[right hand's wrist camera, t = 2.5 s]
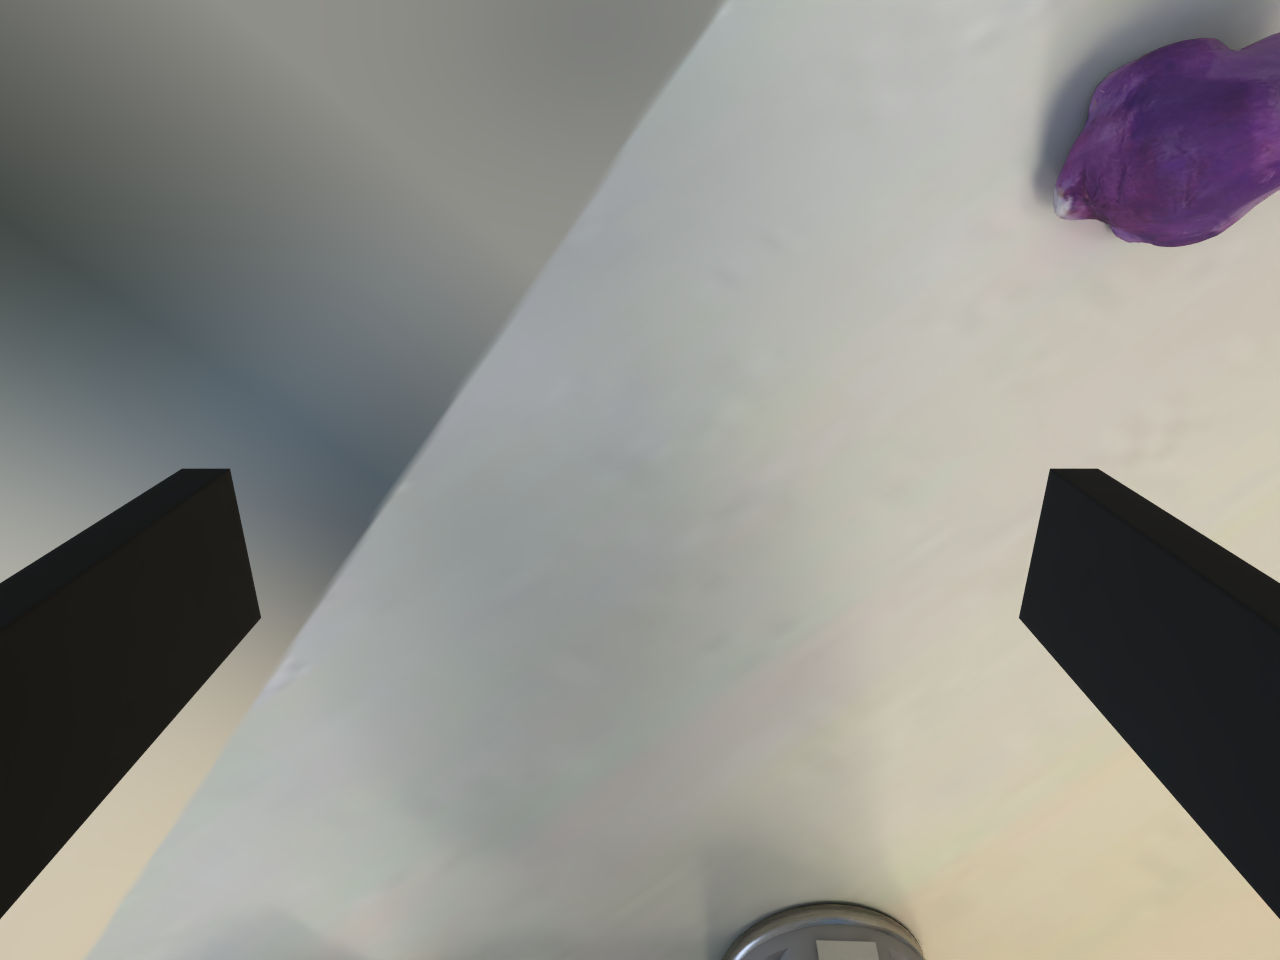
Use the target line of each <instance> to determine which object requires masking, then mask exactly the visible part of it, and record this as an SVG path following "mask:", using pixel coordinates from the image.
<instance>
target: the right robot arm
mask: <svg viewBox="0 0 1280 960" xmlns="http://www.w3.org/2000/svg"><path fill="white" fill-rule="evenodd" d="M260 618H261V615H260V611H259V606H258V601H257V596H256V591H255V587H254V582H253V577H252V572H251V568H250V563H249V558H248V553H247V548H246V543H245V539H244V534H243V529H242V524H241V519H240V515H239V510H238V505H237V500H236V496H235V491H234V486H233V481H232V477H231V472H230V469H181V470H179V471H178V472H176V473H175V474H173V475H171V476H170V477H168V478H167V479H165V480H164V481H162V482H160V483H159V484H157V485H155V486H154V487H152V488H151V489H149V490H148V491H146V492H144V493H143V494H141V495H140V496H138V497H136V498H135V499H133V500H132V501H130V502H128V503H127V504H125V505H124V506H122V507H121V508H119V509H117V510H116V511H114V512H113V513H111V514H109V515H108V516H106V517H105V518H103V519H101V520H100V521H98V522H97V523H95V524H94V525H92V526H90V527H89V528H87V529H86V530H84V531H82V532H81V533H79V534H78V535H76V536H75V537H73V538H71V539H70V540H68V541H67V542H65V543H63V544H62V545H60V546H59V547H57V548H55V549H54V550H52V551H51V552H49V553H48V554H46V555H44V556H43V557H41V558H40V559H38V560H36V561H35V562H33V563H32V564H30V565H28V566H27V567H25V568H24V569H22V570H21V571H19V572H17V573H16V574H14V575H13V576H11V577H9V578H8V579H6V580H5V581H3V582H1V583H0V919H1V917H2V916H3V915H4V914H5V913H6V912H7V911H8V909H9V908H10V907H11V906H12V905H13V904H14V902H15V901H16V900H17V899H18V898H19V897H20V896H21V894H22V893H23V892H24V891H25V890H26V889H27V887H28V886H29V885H30V884H31V883H32V882H33V881H34V879H35V878H36V877H37V876H38V875H39V874H40V872H41V871H42V870H43V869H44V868H45V867H46V865H47V864H48V863H49V862H50V861H51V860H52V859H53V857H54V856H55V855H56V854H57V853H58V852H59V851H60V849H61V848H62V847H63V846H64V845H65V844H66V842H67V841H68V840H69V839H70V838H71V837H72V835H73V834H74V833H75V832H76V831H77V830H78V829H79V827H80V826H81V825H82V824H83V823H84V822H85V821H86V819H87V818H88V817H89V816H90V815H91V814H92V812H93V811H94V810H95V809H96V808H97V807H98V805H99V804H100V803H101V802H102V801H103V800H104V799H105V797H106V796H107V795H108V794H109V793H110V792H111V790H112V789H113V788H114V787H115V786H116V785H117V784H118V782H119V781H120V780H121V779H122V778H123V777H124V775H125V774H126V773H127V772H128V771H129V770H130V769H131V767H132V766H133V765H134V764H135V763H136V762H137V760H138V759H139V758H140V757H141V756H142V755H143V754H144V752H145V751H146V750H147V749H148V748H149V747H150V745H151V744H152V743H153V742H154V741H155V740H156V739H157V737H158V736H159V735H160V734H161V733H162V732H163V730H164V729H165V728H166V727H167V726H168V725H169V724H170V722H171V721H172V720H173V719H174V718H175V717H176V715H177V714H178V713H179V712H180V711H181V710H182V708H183V707H184V706H185V705H186V704H187V703H188V702H189V700H190V699H191V698H192V697H193V696H194V695H195V693H196V692H197V691H198V690H199V689H200V688H201V687H202V685H203V684H204V683H205V682H206V681H207V680H208V678H209V677H210V676H211V675H212V674H213V673H214V672H215V670H216V669H217V668H218V667H219V666H220V665H221V663H222V662H223V661H224V660H225V659H226V658H227V657H228V655H229V654H230V653H231V652H232V651H233V650H234V648H235V647H236V646H237V645H238V644H239V643H240V642H241V640H242V639H243V638H244V637H245V636H246V635H247V633H248V632H249V631H250V630H251V629H252V628H253V627H254V625H255V624H256V623H257V622H258V621H259V620H260ZM1019 618H1020V620H1021V621H1022V622H1023V623H1024V624H1025V625H1026V627H1027V628H1028V629H1029V630H1030V631H1031V632H1032V633H1033V635H1034V636H1035V637H1036V638H1037V639H1038V640H1039V642H1040V643H1041V644H1042V645H1043V646H1044V647H1045V648H1046V650H1047V651H1048V652H1049V653H1050V654H1051V655H1052V657H1053V658H1054V659H1055V660H1056V661H1057V662H1058V663H1059V665H1060V666H1061V667H1062V668H1063V669H1064V670H1065V672H1066V673H1067V674H1068V675H1069V676H1070V677H1071V678H1072V680H1073V681H1074V682H1075V683H1076V684H1077V685H1078V687H1079V688H1080V689H1081V690H1082V691H1083V692H1084V693H1085V695H1086V696H1087V697H1088V698H1089V699H1090V700H1091V702H1092V703H1093V704H1094V705H1095V706H1096V707H1097V709H1098V710H1099V711H1100V712H1101V713H1102V714H1103V715H1104V717H1105V718H1106V719H1107V720H1108V721H1109V722H1110V724H1111V725H1112V726H1113V727H1114V728H1115V729H1116V730H1117V732H1118V733H1119V734H1120V735H1121V736H1122V737H1123V739H1124V740H1125V741H1126V742H1127V743H1128V744H1129V745H1130V747H1131V748H1132V749H1133V750H1134V751H1135V752H1136V754H1137V755H1138V756H1139V757H1140V758H1141V759H1142V760H1143V762H1144V763H1145V764H1146V765H1147V766H1148V767H1149V769H1150V770H1151V771H1152V772H1153V773H1154V774H1155V775H1156V777H1157V778H1158V779H1159V780H1160V781H1161V782H1162V784H1163V785H1164V786H1165V787H1166V788H1167V789H1168V790H1169V792H1170V793H1171V794H1172V795H1173V796H1174V797H1175V799H1176V800H1177V801H1178V802H1179V803H1180V804H1181V806H1182V807H1183V808H1184V809H1185V810H1186V811H1187V812H1188V814H1189V815H1190V816H1191V817H1192V818H1193V819H1194V821H1195V822H1196V823H1197V824H1198V825H1199V826H1200V827H1201V829H1202V830H1203V831H1204V832H1205V833H1206V834H1207V836H1208V837H1209V838H1210V839H1211V840H1212V841H1213V842H1214V844H1215V845H1216V846H1217V847H1218V848H1219V849H1220V851H1221V852H1222V853H1223V854H1224V855H1225V856H1226V857H1227V859H1228V860H1229V861H1230V862H1231V863H1232V864H1233V866H1234V867H1235V868H1236V869H1237V870H1238V871H1239V872H1240V874H1241V875H1242V876H1243V877H1244V878H1245V879H1246V881H1247V882H1248V883H1249V884H1250V885H1251V886H1252V887H1253V889H1254V890H1255V891H1256V892H1257V893H1258V894H1259V896H1260V897H1261V898H1262V899H1263V900H1264V901H1265V902H1266V904H1267V905H1268V906H1269V907H1270V908H1271V909H1272V911H1273V912H1274V913H1275V914H1276V915H1277V916H1278V918H1279V919H1280V583H1279V582H1277V581H1275V580H1274V579H1272V578H1271V577H1269V576H1267V575H1266V574H1264V573H1263V572H1261V571H1259V570H1258V569H1256V568H1255V567H1253V566H1252V565H1250V564H1248V563H1247V562H1245V561H1244V560H1242V559H1240V558H1239V557H1237V556H1236V555H1234V554H1232V553H1231V552H1229V551H1228V550H1226V549H1225V548H1223V547H1221V546H1220V545H1218V544H1217V543H1215V542H1213V541H1212V540H1210V539H1209V538H1207V537H1206V536H1204V535H1202V534H1201V533H1199V532H1198V531H1196V530H1194V529H1193V528H1191V527H1190V526H1188V525H1186V524H1185V523H1183V522H1182V521H1180V520H1179V519H1177V518H1175V517H1174V516H1172V515H1171V514H1169V513H1167V512H1166V511H1164V510H1163V509H1161V508H1159V507H1158V506H1156V505H1155V504H1153V503H1152V502H1150V501H1148V500H1147V499H1145V498H1144V497H1142V496H1140V495H1139V494H1137V493H1136V492H1134V491H1132V490H1131V489H1129V488H1128V487H1126V486H1125V485H1123V484H1121V483H1120V482H1118V481H1117V480H1115V479H1113V478H1112V477H1110V476H1109V475H1107V474H1105V473H1104V472H1102V471H1101V470H1099V469H1050V472H1049V476H1048V481H1047V486H1046V491H1045V496H1044V500H1043V505H1042V510H1041V515H1040V519H1039V524H1038V529H1037V534H1036V539H1035V543H1034V548H1033V553H1032V558H1031V563H1030V567H1029V572H1028V577H1027V582H1026V587H1025V591H1024V596H1023V601H1022V606H1021V611H1020V615H1019ZM723 960H925V958H924V955H923V952H922V950H921V948H920V946H919V944H918V943H917V941H916V940H915V938H914V937H913V936H912V935H911V933H910V932H909V931H907V930H906V929H905V928H904V927H903V926H902V925H900V924H899V923H897V922H896V921H894V920H893V919H891V918H889V917H887V916H885V915H883V914H881V913H878V912H875V911H872V910H869V909H865V908H862V907H856V906H850V905H841V904H821V905H811V906H805V907H799V908H795V909H791V910H787V911H784V912H781V913H778V914H776V915H774V916H771V917H769V918H767V919H765V920H763V921H761V922H759V923H758V924H756V925H754V926H753V927H751V928H750V929H749V930H747V931H746V932H745V933H743V934H742V935H741V936H740V937H739V938H738V939H737V940H736V941H735V942H734V943H733V944H732V946H731V947H730V948H729V950H728V951H727V953H726V955H725V956H724V958H723Z"/></svg>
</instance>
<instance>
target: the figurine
mask: <svg viewBox="0 0 1280 960" xmlns="http://www.w3.org/2000/svg"><path fill="white" fill-rule="evenodd" d="M1278 190H1280V33H1277V34H1273V35H1271V36H1269V37H1266V38H1264V39H1262V40H1259V41H1257V42H1255V43H1253V44H1251V45H1249V46H1247V47H1245V48H1243V49H1241V50H1233V51H1232V50H1231V49H1229V48H1228V47H1226V46H1225V45H1224V44H1223V43H1221V42H1220V41H1219V40H1217V39H1211V38H1199V39H1191V40H1185V41H1181V42H1177V43H1173V44H1170V45H1168V46H1165V47H1162V48H1159V49H1157V50H1155V51H1152V52H1150V53H1148V54H1146V55H1144V56H1143V57H1141V58H1139V59H1137V60H1135V61H1132V62H1130V63H1127V64H1125V65H1123V66H1122V67H1120V68H1118V69H1116V70H1114V71H1113V72H1111V73H1109V74H1108V75H1107V76H1106V78H1105V79H1104V80H1103V81H1102V82H1101V83H1100V84H1099V85H1098V86H1097V87H1096V90H1095V92H1094V94H1093V97H1092V100H1091V103H1090V106H1089V116H1088V119H1087V122H1086V124H1085V127H1084V129H1083V130H1082V132H1081V133H1080V135H1079V136H1078V138H1077V139H1076V141H1075V142H1074V144H1073V146H1072V148H1071V150H1070V153H1069V155H1068V157H1067V159H1066V161H1065V164H1064V166H1063V168H1062V170H1061V172H1060V174H1059V177H1058V179H1057V182H1056V185H1055V189H1054V210H1055V213H1056V215H1057V216H1058V217H1059V218H1061V219H1064V220H1082V219H1097V220H1099V221H1102V222H1104V223H1106V224H1109V225H1110V227H1111V229H1112V231H1113V233H1114V234H1115V235H1116V236H1117V237H1118V238H1120V239H1122V240H1124V241H1126V242H1143V243H1150V244H1153V245H1156V246H1163V247H1178V246H1185V245H1190V244H1194V243H1198V242H1201V241H1204V240H1206V239H1209V238H1211V237H1214V236H1217V235H1218V234H1220V233H1222V232H1223V231H1225V230H1226V229H1227V228H1229V227H1230V226H1231V225H1233V224H1234V223H1235V222H1237V221H1238V220H1239V219H1241V218H1242V217H1243V216H1244V215H1245V214H1247V213H1248V212H1249V211H1250V210H1251V209H1252V208H1254V207H1255V206H1256V205H1258V204H1259V203H1260V202H1262V201H1263V200H1265V199H1266V198H1267V197H1269V196H1270V195H1272V194H1273V193H1275V192H1277V191H1278Z"/></svg>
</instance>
